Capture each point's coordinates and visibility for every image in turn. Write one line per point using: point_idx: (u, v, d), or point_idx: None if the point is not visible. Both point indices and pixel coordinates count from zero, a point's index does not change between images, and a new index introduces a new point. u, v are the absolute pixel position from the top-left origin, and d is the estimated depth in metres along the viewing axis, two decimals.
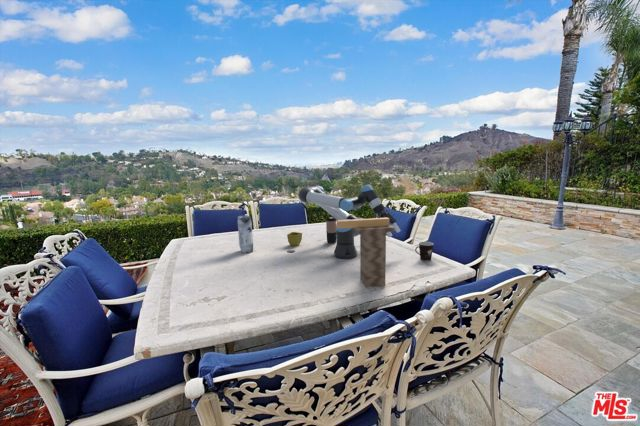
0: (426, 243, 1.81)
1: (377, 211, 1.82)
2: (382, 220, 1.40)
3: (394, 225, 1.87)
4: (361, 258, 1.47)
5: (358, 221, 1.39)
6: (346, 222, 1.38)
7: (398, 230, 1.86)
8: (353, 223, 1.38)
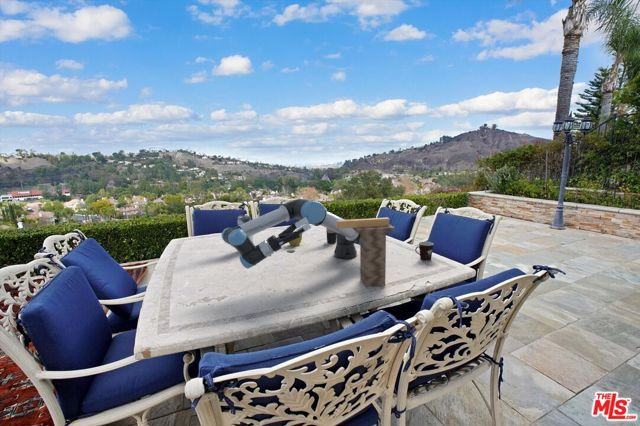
0: (426, 243, 1.81)
1: None
2: (382, 220, 1.40)
3: None
4: (361, 258, 1.47)
5: (358, 221, 1.39)
6: (346, 222, 1.38)
7: None
8: (353, 223, 1.38)
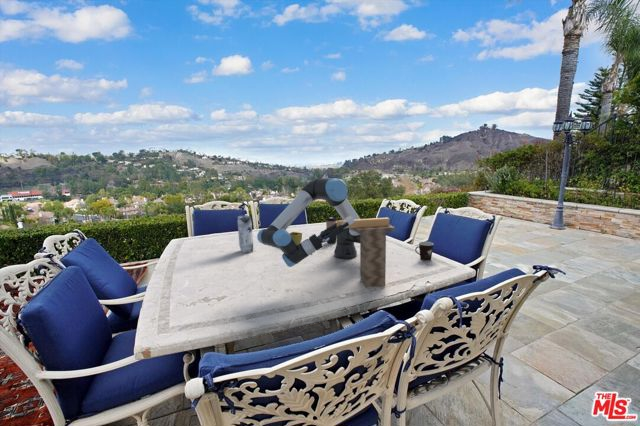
0: (426, 243, 1.81)
1: None
2: (382, 220, 1.40)
3: None
4: (361, 258, 1.47)
5: (358, 221, 1.39)
6: None
7: None
8: (353, 223, 1.38)
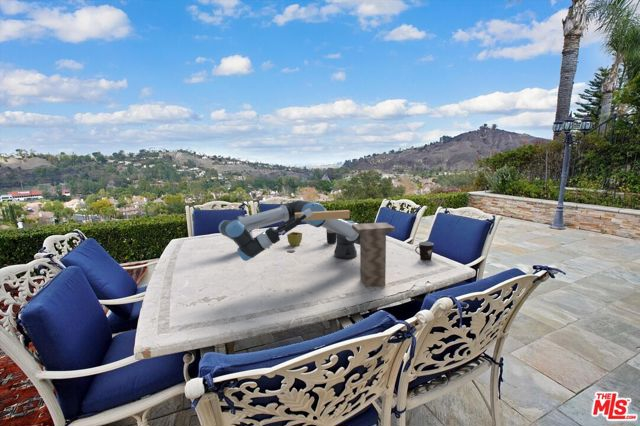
0: (426, 243, 1.81)
1: None
2: (342, 212, 1.36)
3: None
4: (361, 258, 1.47)
5: (317, 213, 1.34)
6: None
7: None
8: (311, 215, 1.34)
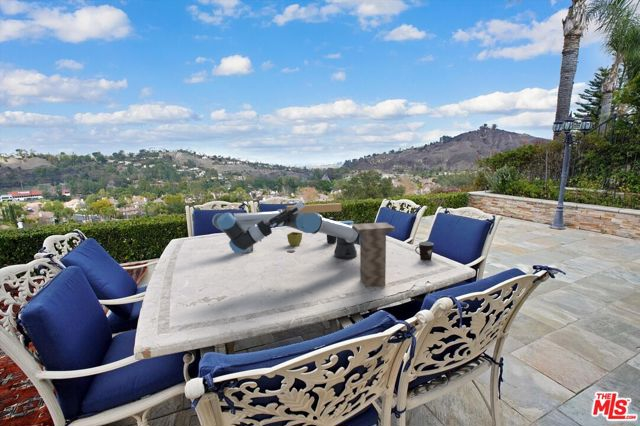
0: (426, 243, 1.81)
1: None
2: (334, 205, 1.36)
3: None
4: (361, 258, 1.47)
5: (308, 206, 1.34)
6: None
7: None
8: None
